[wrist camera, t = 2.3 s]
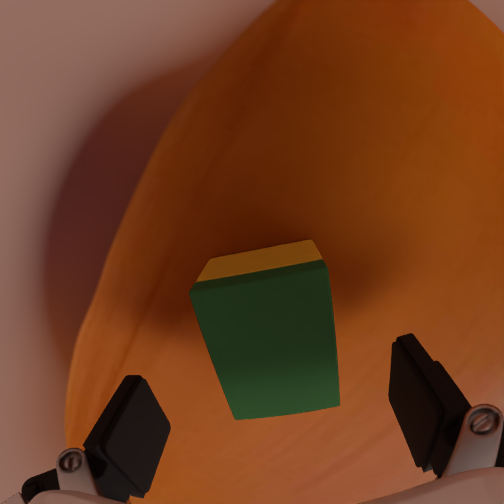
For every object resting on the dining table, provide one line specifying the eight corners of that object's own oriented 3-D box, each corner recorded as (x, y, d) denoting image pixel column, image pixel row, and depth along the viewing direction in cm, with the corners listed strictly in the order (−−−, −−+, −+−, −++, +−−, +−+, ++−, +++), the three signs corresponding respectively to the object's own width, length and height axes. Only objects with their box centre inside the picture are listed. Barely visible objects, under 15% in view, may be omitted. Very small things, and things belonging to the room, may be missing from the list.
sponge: (209, 258, 14) (187, 292, 10) (312, 238, 13) (328, 267, 10) (242, 370, 16) (234, 420, 12) (327, 356, 15) (340, 406, 11)
